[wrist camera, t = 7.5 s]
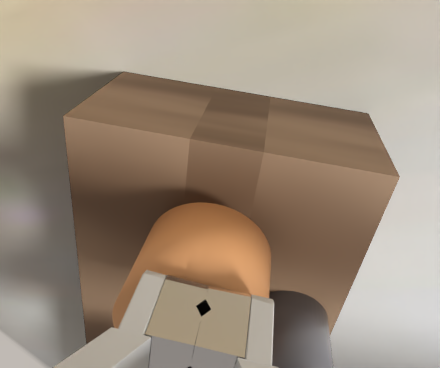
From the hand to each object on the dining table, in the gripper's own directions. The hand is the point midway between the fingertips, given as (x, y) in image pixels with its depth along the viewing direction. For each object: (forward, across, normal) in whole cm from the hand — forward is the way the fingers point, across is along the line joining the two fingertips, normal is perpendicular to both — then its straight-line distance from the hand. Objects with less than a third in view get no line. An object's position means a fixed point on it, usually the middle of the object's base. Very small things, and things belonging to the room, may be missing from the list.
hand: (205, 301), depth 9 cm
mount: (+9, 0, +8) cm, 12 cm away
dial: (+4, -3, +4) cm, 7 cm away
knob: (+8, 0, +1) cm, 8 cm away
